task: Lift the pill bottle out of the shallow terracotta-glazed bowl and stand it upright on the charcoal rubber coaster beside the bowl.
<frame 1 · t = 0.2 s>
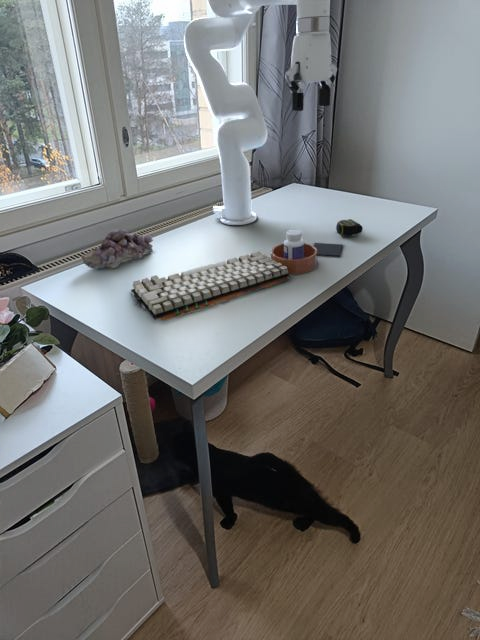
hand: (311, 108, 114), 37 cm above the table, tool pointing down, fingers open, 9 cm apart
mechanical keyboard: (211, 286, 114), on the table, touching bowl
coaster: (326, 250, 129), on the table
pill bottle: (293, 264, 122), resting on bowl
bowl: (293, 264, 122), on the table
mineral specimen: (121, 261, 130), on the table
tape measure: (348, 234, 139), on the table
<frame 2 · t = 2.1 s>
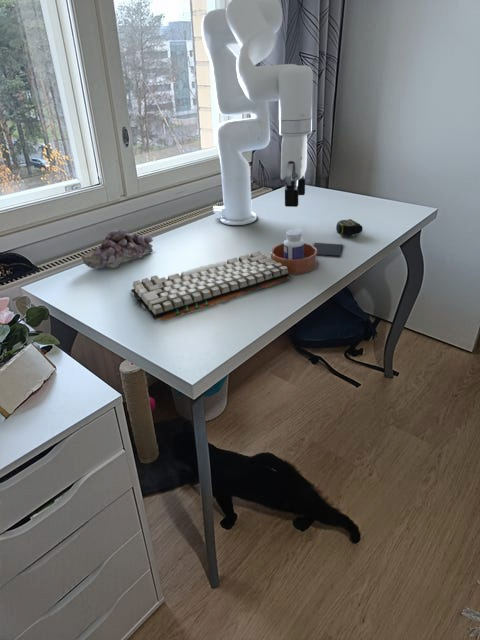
hand: (295, 200, 113), 18 cm above the table, tool pointing down, fingers open, 9 cm apart
nothing on the table moved.
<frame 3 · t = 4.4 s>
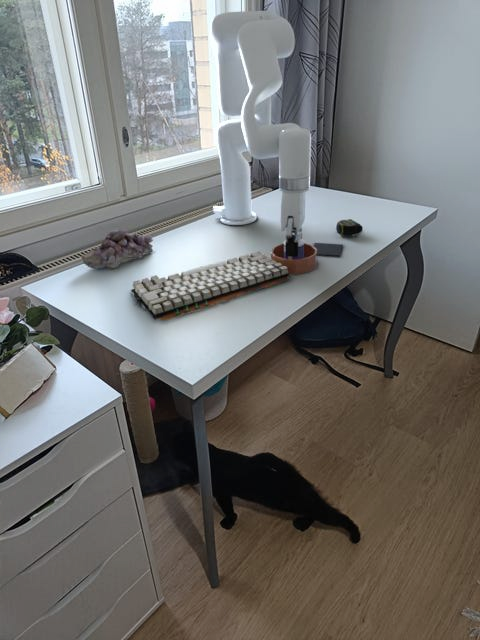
hand: (293, 250, 120), 4 cm above the table, tool pointing down, fingers closed on pill bottle, 5 cm apart
pill bottle: (293, 264, 122), resting on bowl, touching gripper
everything else where it was.
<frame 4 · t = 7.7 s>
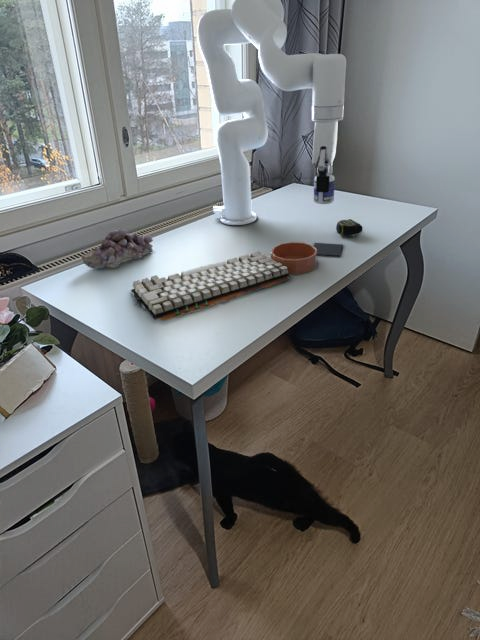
hand: (324, 187, 118), 18 cm above the table, tool pointing down, fingers closed on pill bottle, 5 cm apart
pill bottle: (323, 202, 120), point 14 cm above the table, touching gripper
everything else where it was.
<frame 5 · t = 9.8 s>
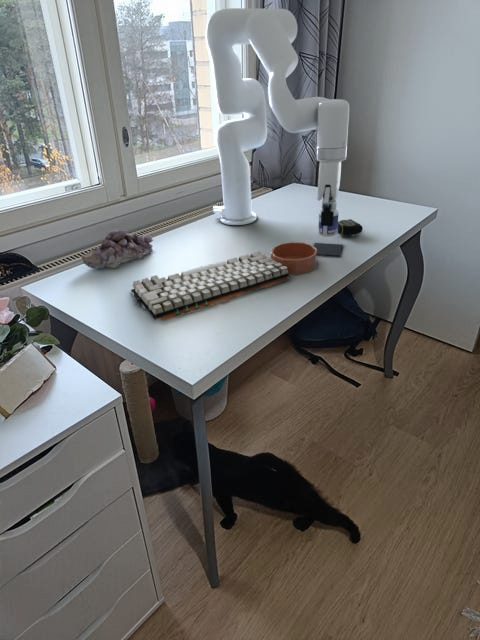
hand: (328, 221, 124), 9 cm above the table, tool pointing down, fingers closed on pill bottle, 5 cm apart
pill bottle: (327, 234, 126), point 5 cm above the table, touching gripper
everything else where it was.
when the fingers open (4 cm above the table, at t = 11.4 s): pill bottle stays where it is, resting on coaster.
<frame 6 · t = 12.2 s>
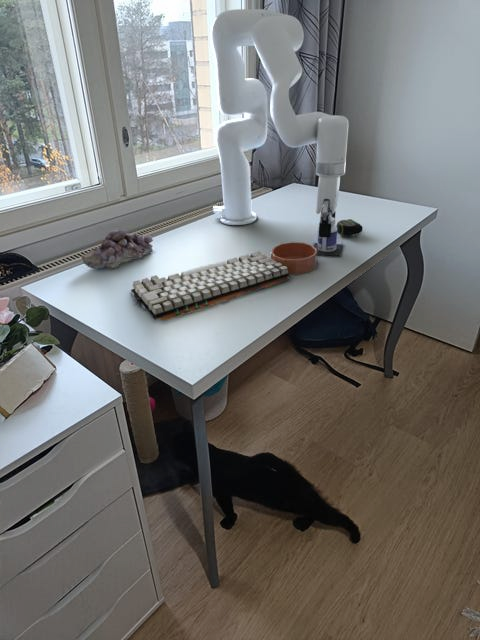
hand: (326, 230, 126), 6 cm above the table, tool pointing down, fingers open, 9 cm apart
pill bottle: (326, 249, 129), resting on coaster
everything else where it was.
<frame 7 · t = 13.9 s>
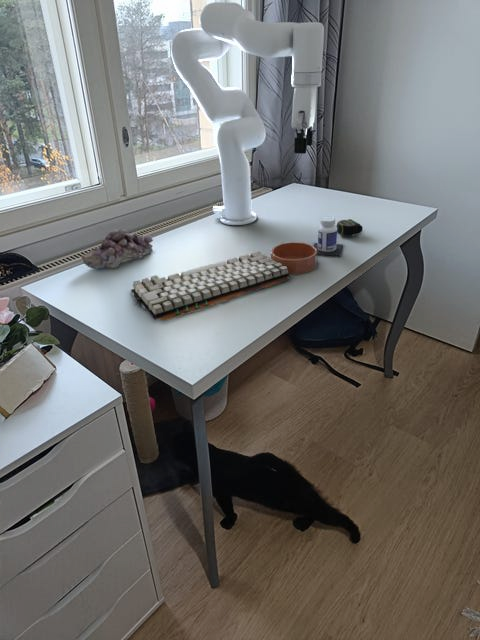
hand: (303, 149, 125), 26 cm above the table, tool pointing down, fingers open, 9 cm apart
nothing on the table moved.
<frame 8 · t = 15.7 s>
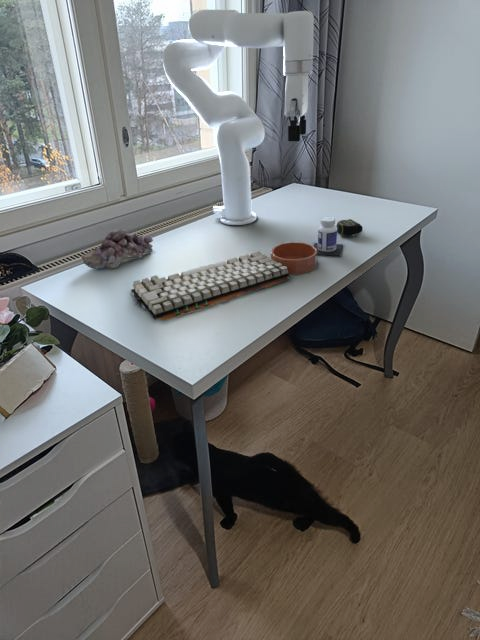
hand: (297, 137, 127), 28 cm above the table, tool pointing down, fingers open, 9 cm apart
nothing on the table moved.
at the end: pill bottle 0.0 cm off-centre on the coaster, point 0.2 cm above the coaster's base; pill bottle tilted 0°; pill bottle touching coaster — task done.
